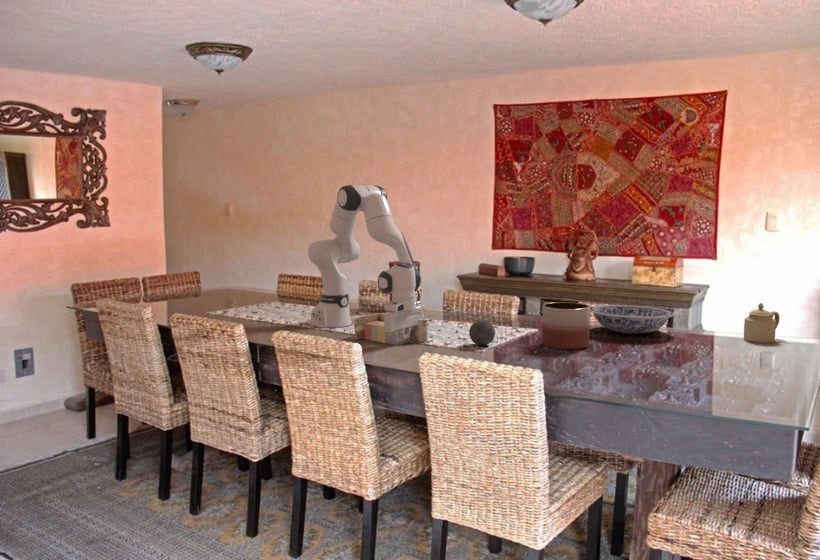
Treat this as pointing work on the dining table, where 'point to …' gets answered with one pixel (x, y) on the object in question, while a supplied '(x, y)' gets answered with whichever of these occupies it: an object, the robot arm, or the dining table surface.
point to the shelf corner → (416, 331)
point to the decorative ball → (482, 332)
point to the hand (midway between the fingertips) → (405, 338)
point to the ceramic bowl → (631, 318)
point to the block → (395, 337)
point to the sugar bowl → (761, 325)
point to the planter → (565, 325)
